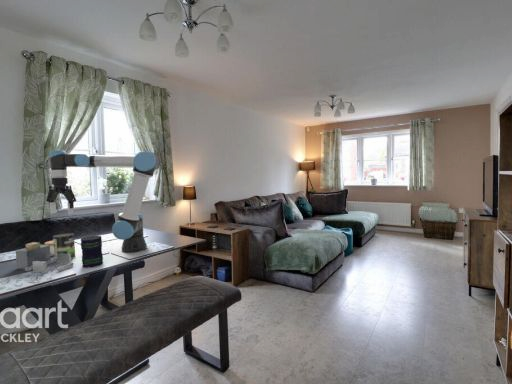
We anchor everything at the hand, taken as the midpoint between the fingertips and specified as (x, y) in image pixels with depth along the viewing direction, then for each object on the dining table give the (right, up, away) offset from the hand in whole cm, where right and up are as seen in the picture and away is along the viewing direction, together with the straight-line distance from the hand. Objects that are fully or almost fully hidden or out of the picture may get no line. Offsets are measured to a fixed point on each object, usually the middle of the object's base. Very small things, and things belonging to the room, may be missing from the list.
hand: (62, 213), depth 159 cm
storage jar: (+24, -27, -10) cm, 38 cm away
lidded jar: (-12, -26, +12) cm, 31 cm away
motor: (0, -28, -13) cm, 30 cm away
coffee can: (+1, -27, +2) cm, 27 cm away
